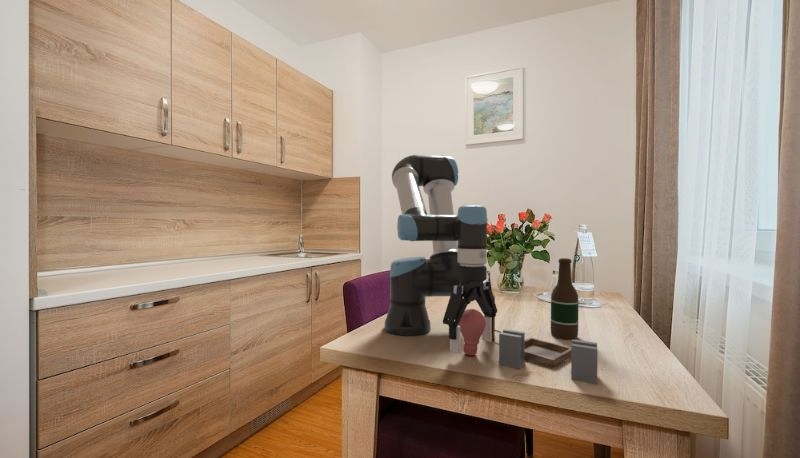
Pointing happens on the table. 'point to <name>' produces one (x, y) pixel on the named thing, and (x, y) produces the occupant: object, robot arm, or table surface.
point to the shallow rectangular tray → (546, 352)
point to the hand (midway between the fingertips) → (471, 345)
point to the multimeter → (492, 317)
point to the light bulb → (471, 330)
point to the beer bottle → (564, 304)
